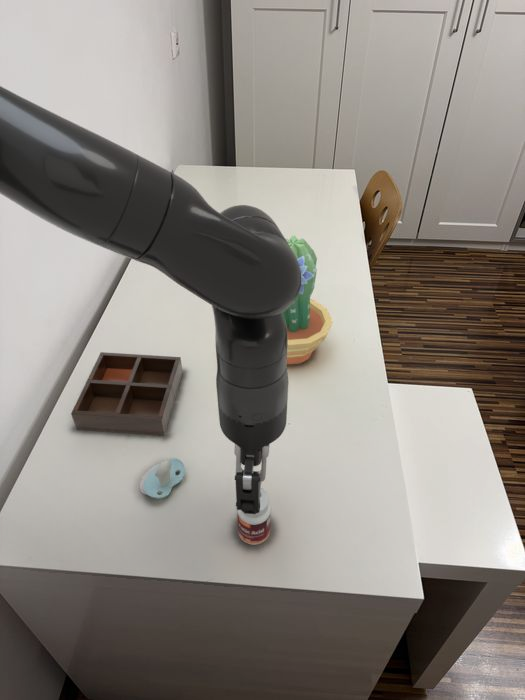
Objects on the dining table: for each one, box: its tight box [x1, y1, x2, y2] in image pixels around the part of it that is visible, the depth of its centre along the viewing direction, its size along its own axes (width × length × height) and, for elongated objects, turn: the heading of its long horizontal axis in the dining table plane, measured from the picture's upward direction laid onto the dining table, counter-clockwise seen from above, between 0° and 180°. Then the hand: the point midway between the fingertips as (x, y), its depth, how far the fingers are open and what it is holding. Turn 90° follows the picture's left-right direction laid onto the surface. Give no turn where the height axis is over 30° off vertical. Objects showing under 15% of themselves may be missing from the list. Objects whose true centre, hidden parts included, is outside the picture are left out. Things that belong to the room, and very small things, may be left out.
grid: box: [70, 351, 184, 436], centre depth 90 cm, size 15×15×4 cm
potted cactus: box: [282, 235, 333, 365], centre depth 93 cm, size 16×15×25 cm
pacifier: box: [139, 458, 186, 500], centre depth 76 cm, size 7×6×6 cm
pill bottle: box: [236, 487, 272, 546], centre depth 70 cm, size 5×5×8 cm
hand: (254, 480), depth 64 cm, fingers open, 8 cm apart
